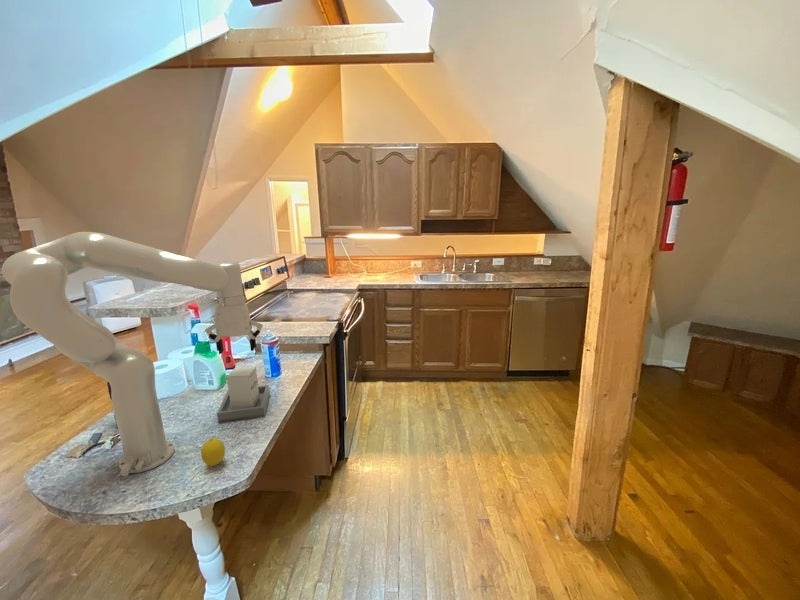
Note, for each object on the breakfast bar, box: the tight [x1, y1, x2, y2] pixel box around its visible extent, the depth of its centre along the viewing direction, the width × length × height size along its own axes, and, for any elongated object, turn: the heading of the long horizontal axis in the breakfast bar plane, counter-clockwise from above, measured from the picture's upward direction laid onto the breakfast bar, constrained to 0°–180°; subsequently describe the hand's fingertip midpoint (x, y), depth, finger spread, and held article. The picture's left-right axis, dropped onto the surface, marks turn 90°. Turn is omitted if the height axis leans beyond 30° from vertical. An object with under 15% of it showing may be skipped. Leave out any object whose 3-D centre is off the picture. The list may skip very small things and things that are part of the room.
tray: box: [216, 384, 271, 424], centre depth 123 cm, size 16×14×4 cm
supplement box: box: [226, 366, 260, 410], centre depth 122 cm, size 7×7×13 cm
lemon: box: [200, 437, 226, 467], centre depth 95 cm, size 6×6×8 cm
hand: (237, 351), depth 118 cm, fingers open, 9 cm apart
